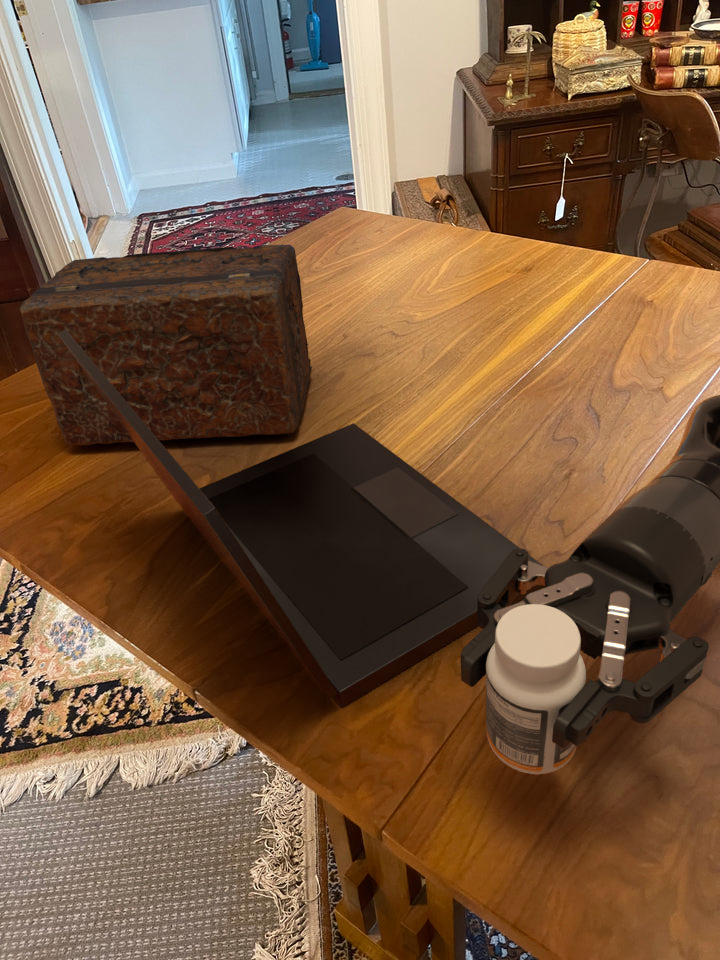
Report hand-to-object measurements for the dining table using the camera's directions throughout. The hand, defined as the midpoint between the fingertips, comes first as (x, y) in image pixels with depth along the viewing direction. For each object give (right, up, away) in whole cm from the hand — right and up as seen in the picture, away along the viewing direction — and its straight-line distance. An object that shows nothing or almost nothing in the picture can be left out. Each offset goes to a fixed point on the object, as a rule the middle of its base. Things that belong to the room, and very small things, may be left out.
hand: (510, 704), depth 42 cm
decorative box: (-30, +22, +55) cm, 66 cm away
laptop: (-10, +6, +31) cm, 33 cm away
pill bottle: (+2, -4, +5) cm, 7 cm away
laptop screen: (-22, +11, +18) cm, 31 cm away
